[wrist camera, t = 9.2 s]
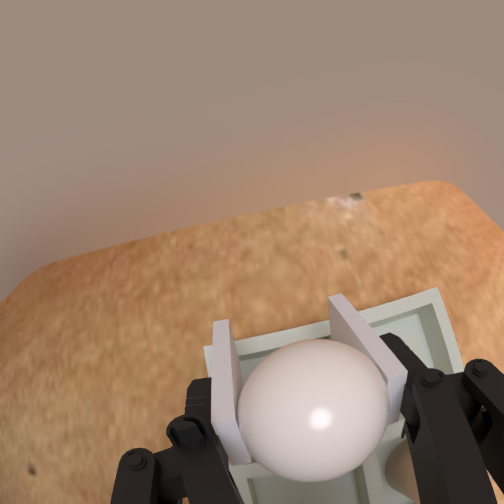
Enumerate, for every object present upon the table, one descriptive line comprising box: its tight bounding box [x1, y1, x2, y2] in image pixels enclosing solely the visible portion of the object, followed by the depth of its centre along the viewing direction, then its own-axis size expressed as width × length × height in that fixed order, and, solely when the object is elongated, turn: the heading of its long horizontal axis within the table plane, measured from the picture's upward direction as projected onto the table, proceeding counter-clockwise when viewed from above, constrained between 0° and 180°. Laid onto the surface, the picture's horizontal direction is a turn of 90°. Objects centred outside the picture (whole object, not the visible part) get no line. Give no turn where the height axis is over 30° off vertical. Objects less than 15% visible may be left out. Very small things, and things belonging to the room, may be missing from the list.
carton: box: [203, 287, 492, 504], centre depth 14 cm, size 17×17×9 cm
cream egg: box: [237, 339, 390, 482], centre depth 11 cm, size 5×5×10 cm
